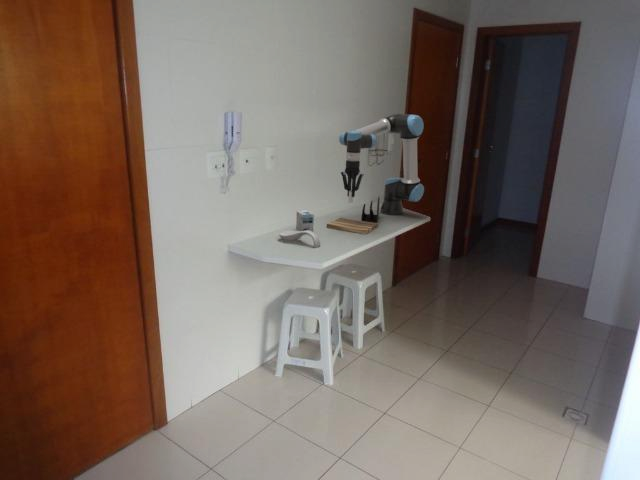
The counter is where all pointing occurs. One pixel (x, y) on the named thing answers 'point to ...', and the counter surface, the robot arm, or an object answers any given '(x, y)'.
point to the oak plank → (349, 227)
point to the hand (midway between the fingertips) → (350, 202)
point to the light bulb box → (304, 220)
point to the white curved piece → (299, 236)
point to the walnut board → (358, 222)
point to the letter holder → (370, 214)
